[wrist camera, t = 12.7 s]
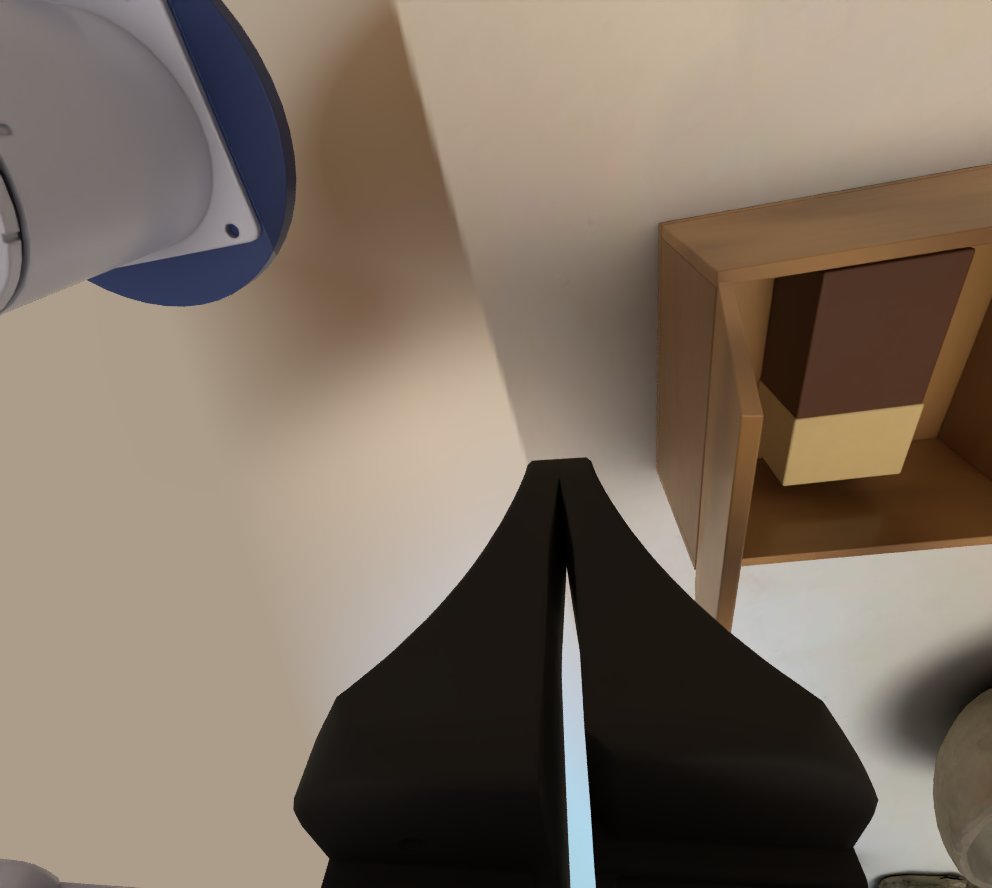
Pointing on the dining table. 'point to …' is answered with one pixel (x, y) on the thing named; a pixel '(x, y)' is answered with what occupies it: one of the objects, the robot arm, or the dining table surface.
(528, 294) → the dining table surface
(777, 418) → the chocolate bar
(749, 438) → the flap
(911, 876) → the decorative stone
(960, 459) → the box
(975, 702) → the bowl
